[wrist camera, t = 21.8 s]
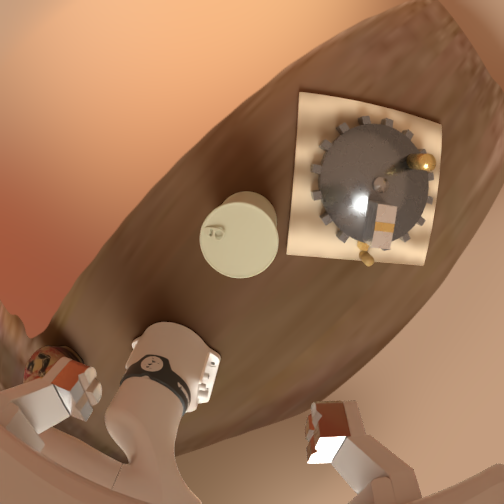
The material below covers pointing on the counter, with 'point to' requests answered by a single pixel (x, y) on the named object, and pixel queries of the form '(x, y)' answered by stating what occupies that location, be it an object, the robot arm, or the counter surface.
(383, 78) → the counter surface
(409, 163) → the sprocket
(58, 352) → the ceramic jug
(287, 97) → the counter surface
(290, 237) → the plate
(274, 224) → the can
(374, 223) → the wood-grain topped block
